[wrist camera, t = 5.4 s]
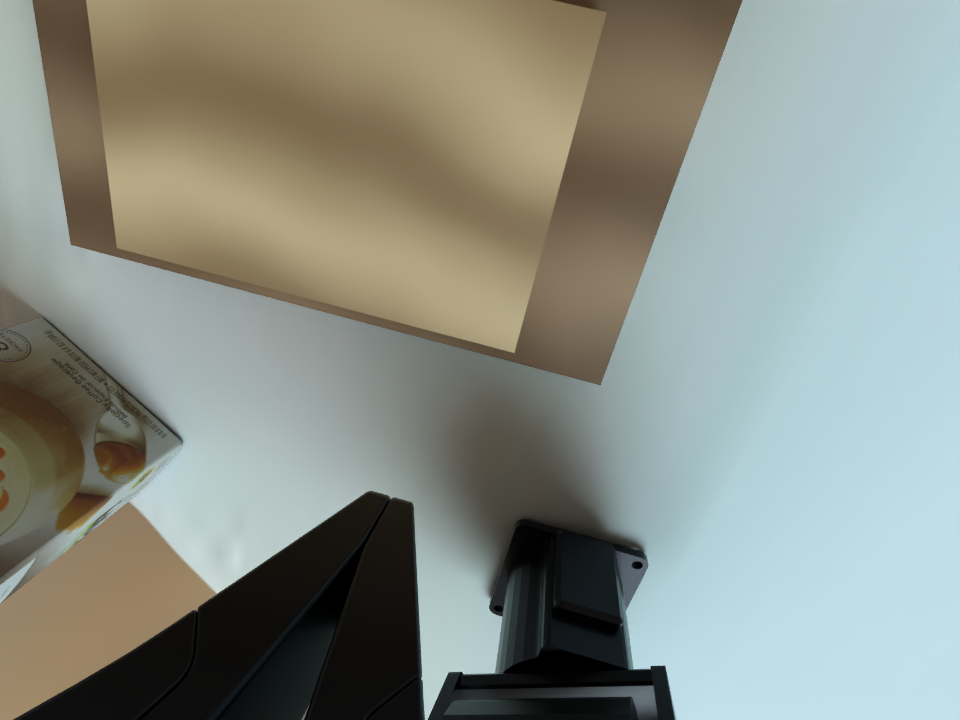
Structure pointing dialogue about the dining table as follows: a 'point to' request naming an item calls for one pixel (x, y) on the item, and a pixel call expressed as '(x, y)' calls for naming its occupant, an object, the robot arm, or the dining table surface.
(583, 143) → the floor board
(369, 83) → the tan rectangular panel
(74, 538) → the coffee box
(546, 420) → the dining table surface
